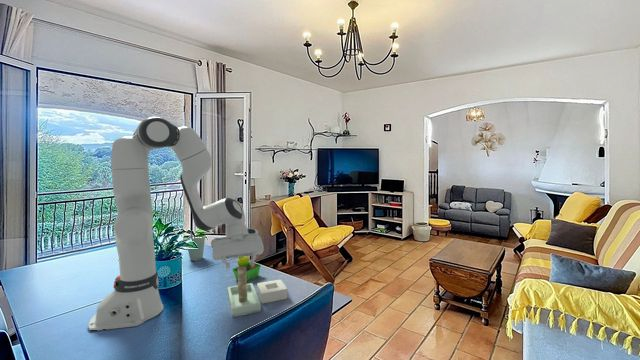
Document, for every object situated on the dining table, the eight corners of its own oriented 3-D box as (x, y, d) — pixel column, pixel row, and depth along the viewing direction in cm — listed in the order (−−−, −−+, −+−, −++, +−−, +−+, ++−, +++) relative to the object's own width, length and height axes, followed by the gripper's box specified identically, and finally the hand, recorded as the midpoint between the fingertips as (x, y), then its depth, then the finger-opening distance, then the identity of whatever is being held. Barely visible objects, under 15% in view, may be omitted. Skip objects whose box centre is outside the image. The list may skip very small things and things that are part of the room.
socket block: (262, 303, 114) (261, 293, 114) (257, 292, 124) (257, 283, 123) (287, 298, 118) (287, 288, 118) (281, 288, 127) (280, 279, 127)
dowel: (239, 303, 114) (237, 269, 113) (238, 299, 117) (237, 266, 116) (247, 301, 115) (246, 268, 114) (246, 297, 118) (245, 265, 117)
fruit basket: (242, 284, 132) (241, 259, 132) (230, 279, 138) (229, 255, 137) (262, 275, 142) (261, 252, 141) (249, 271, 147) (248, 248, 146)
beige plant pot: (203, 254, 173) (202, 229, 172) (209, 259, 165) (208, 232, 164) (183, 258, 167) (182, 232, 166) (189, 263, 158) (187, 236, 157)
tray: (232, 317, 105) (231, 309, 105) (227, 294, 123) (227, 287, 123) (260, 311, 109) (260, 303, 109) (252, 289, 126) (252, 282, 126)
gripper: (210, 234, 121) (212, 266, 112) (261, 229, 128) (266, 259, 120) (210, 242, 125) (212, 273, 117) (259, 237, 132) (264, 266, 124)
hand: (240, 266), depth 118 cm, fingers open, 8 cm apart
